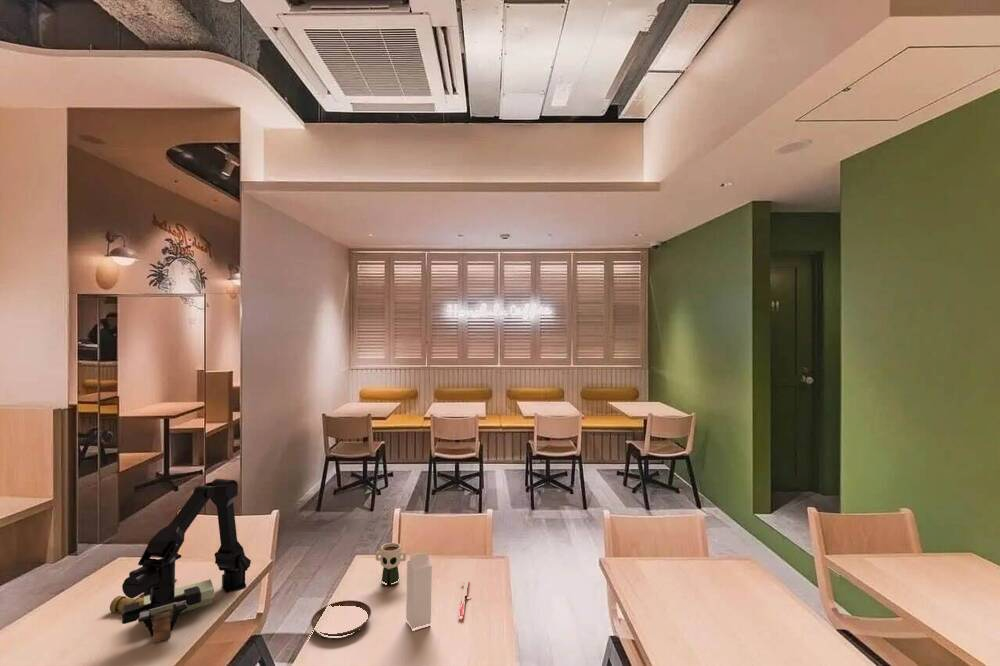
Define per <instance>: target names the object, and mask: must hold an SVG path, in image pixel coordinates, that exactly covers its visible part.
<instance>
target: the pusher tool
mask: <svg viewBox="0 0 1000 666" xmlns="http://www.w3.org/2000/svg"><path fill="white" fill-rule="evenodd" d="M171 619H172V615H171V611H170V609H168V610H165V611H162V612H161V613H160V614H156V615H154V620H153V637H152V642H153V643H157V642H161V641H165V640H169V639H171V635H172V631H171Z"/></svg>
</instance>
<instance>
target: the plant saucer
mask: <svg viewBox="0 0 1000 666" xmlns="http://www.w3.org/2000/svg"><path fill="white" fill-rule="evenodd" d="M328 605H329V606H330V605H331V606H332V607H334V606H339V605H340V606H356V607H360V608H362V609H363V610H365V611H366V612H367V614H368V619H367V620H366V622H364V623H363V624H362V625H361V626H359V627H357V628H355V629H353V630H350V631H347V632H343V633H337V634H328V633H322V632H320V633H322V634H324V635H328V636H343V635H347V634H351V633H353V632H356V631H358V630H359V629H361V628H362V627H363V626H364V627H365V625H366V624H367V623H368V622H369V620H370V618H371V616H372V609H371V606H369V604H367V603H366V602H363V601H359V600H347V599H346V600H341V601H336V602H332V603H329V604H327V605H325V606H323V607H322V608H320V609H318V610H317V611H316V612H315V613H314V614H313V615H312V617H311V620H310V625H311V628H312V629H313V630H314V628H315V626H316V624H317V622H318V621H319V619H320V617H321V616H322V614H323V612H324V611H325V609H326V607H327V606H328ZM364 627H363V628H364ZM363 628H362V629H363ZM362 629H361V630H362ZM359 631H360V630H359ZM359 631H358V632H359Z"/></svg>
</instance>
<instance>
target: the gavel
mask: <svg viewBox="0 0 1000 666" xmlns="http://www.w3.org/2000/svg"><path fill="white" fill-rule="evenodd" d="M177 581H178V579H177V578H175V583H177ZM149 595H150V594H149ZM149 595H145V596H149ZM145 596H144V593H142V594H140V595H139V596H137V597H135V598H129V597H127V596H126V595H118V596H116V597H114V598H113V600H112V601H111V603H110V605H109V611H110V612H111V613H115V614H117V613H122V608H123V607H124V606H125V605H128V604H132V603H136V602H139V605H140V606H142V605H143V597H145Z"/></svg>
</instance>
